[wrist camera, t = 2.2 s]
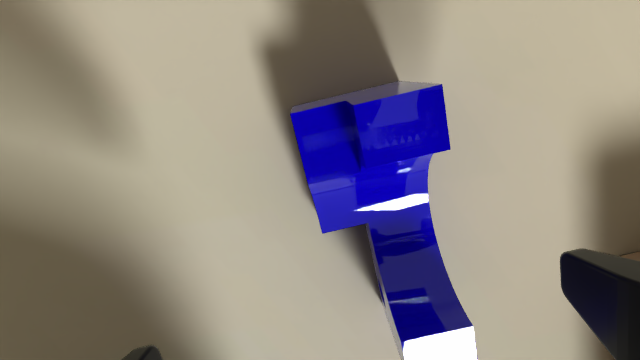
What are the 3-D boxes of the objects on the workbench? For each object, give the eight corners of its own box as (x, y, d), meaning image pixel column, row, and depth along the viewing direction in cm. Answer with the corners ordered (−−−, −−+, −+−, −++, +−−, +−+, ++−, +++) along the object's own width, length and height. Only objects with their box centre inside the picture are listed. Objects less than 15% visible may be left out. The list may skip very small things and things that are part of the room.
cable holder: (293, 105, 12) (287, 121, 8) (397, 80, 12) (442, 83, 8) (343, 308, 14) (357, 395, 10) (431, 288, 14) (478, 369, 10)
